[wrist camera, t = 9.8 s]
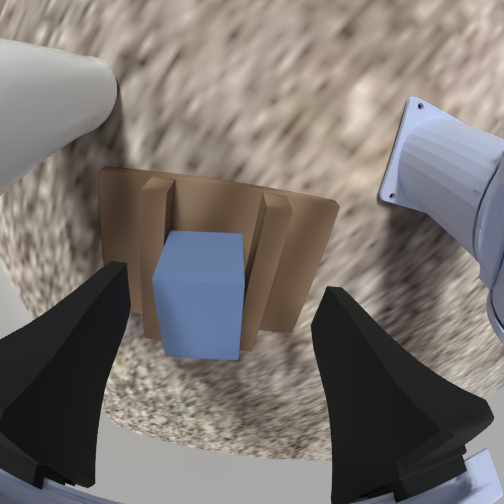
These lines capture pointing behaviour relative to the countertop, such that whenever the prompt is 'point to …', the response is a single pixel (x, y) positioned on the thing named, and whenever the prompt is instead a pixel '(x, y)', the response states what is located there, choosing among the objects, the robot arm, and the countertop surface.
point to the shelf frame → (222, 221)
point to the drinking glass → (47, 103)
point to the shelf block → (200, 294)
